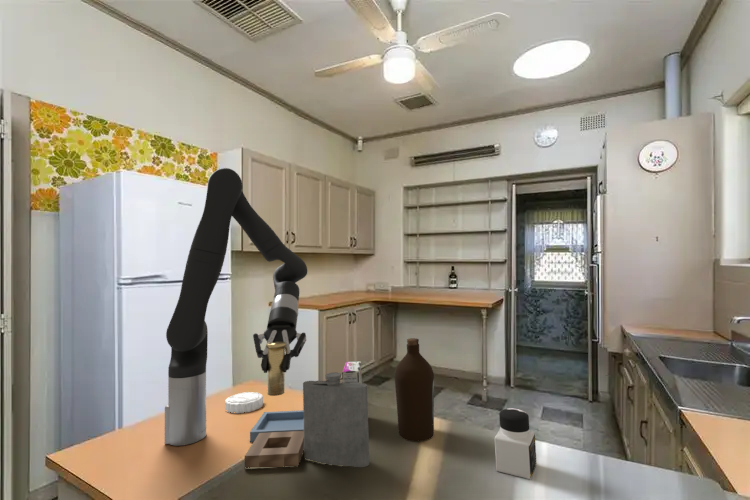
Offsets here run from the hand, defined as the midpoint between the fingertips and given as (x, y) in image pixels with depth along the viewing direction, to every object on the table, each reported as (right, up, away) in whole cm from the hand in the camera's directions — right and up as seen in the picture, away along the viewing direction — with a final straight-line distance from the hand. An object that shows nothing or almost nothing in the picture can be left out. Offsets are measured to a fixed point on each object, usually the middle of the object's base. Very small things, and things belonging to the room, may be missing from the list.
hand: (274, 370), depth 88 cm
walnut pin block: (+1, -21, 0) cm, 21 cm away
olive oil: (+35, -20, +10) cm, 42 cm away
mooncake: (-20, -24, +35) cm, 47 cm away
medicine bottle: (+55, -19, -8) cm, 59 cm away
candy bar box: (+18, -21, +18) cm, 33 cm away
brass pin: (0, -6, +1) cm, 6 cm away
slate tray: (-2, -22, +15) cm, 27 cm away
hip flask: (+15, -20, -3) cm, 25 cm away
